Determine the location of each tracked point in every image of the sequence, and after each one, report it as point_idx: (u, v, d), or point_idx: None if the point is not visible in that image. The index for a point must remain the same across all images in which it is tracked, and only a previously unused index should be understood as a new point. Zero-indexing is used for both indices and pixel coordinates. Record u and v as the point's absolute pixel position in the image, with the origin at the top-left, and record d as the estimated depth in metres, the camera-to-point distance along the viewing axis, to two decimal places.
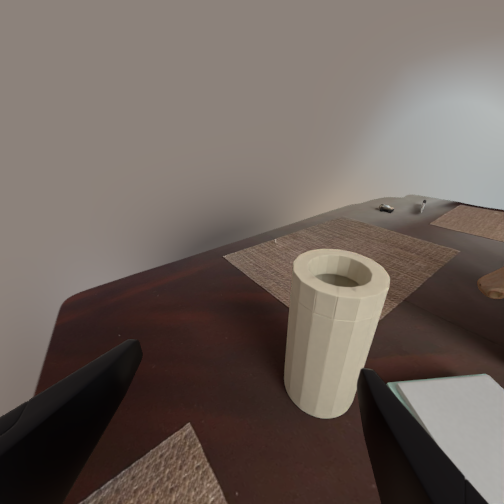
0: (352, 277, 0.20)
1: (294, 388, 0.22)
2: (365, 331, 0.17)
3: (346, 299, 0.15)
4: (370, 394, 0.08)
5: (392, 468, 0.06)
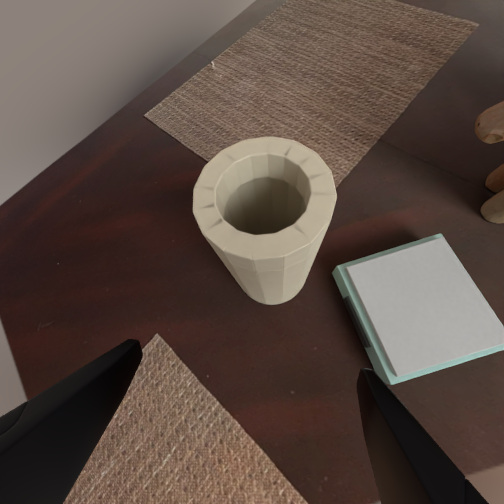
0: (290, 182, 0.14)
1: (245, 291, 0.22)
2: (301, 266, 0.13)
3: (265, 259, 0.11)
4: (370, 394, 0.08)
5: (392, 468, 0.06)
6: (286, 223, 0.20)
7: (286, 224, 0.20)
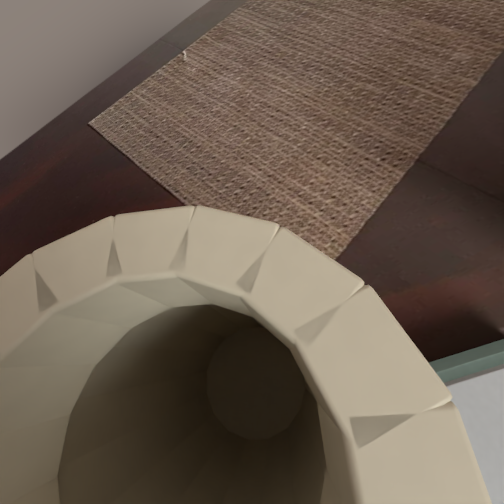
0: (272, 334, 0.04)
1: None
2: None
3: None
4: None
5: None
6: None
7: None
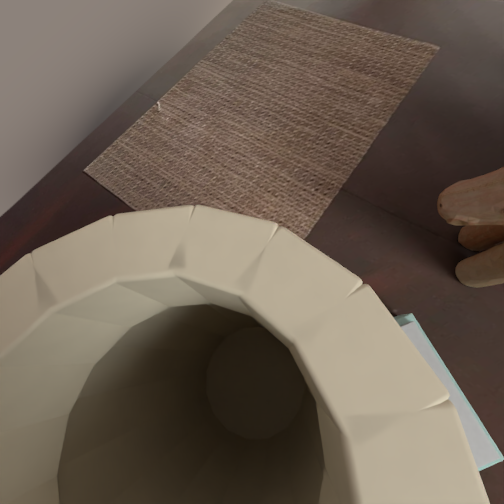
0: (271, 333, 0.04)
1: None
2: None
3: None
4: None
5: None
6: None
7: None
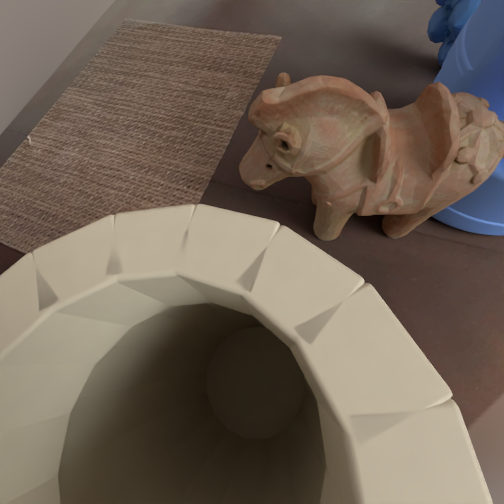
0: (272, 332, 0.04)
1: None
2: None
3: None
4: None
5: None
6: None
7: None
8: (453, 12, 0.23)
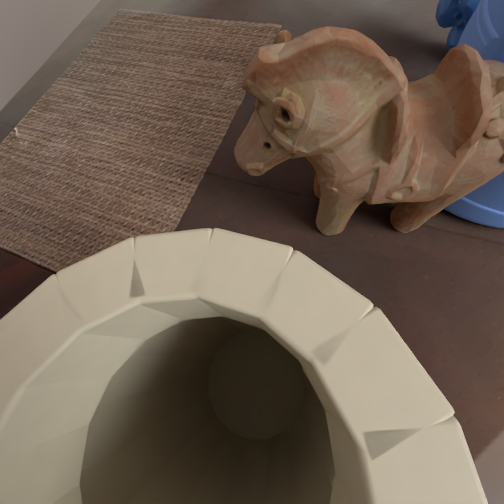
0: (282, 346, 0.05)
1: None
2: None
3: None
4: None
5: None
6: None
7: None
8: None
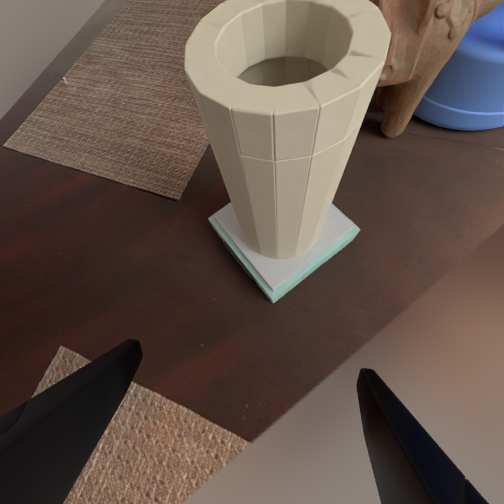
0: (315, 55, 0.10)
1: (251, 241, 0.19)
2: (332, 164, 0.10)
3: (292, 116, 0.07)
4: (370, 394, 0.08)
5: (392, 468, 0.06)
6: None
7: None
8: None
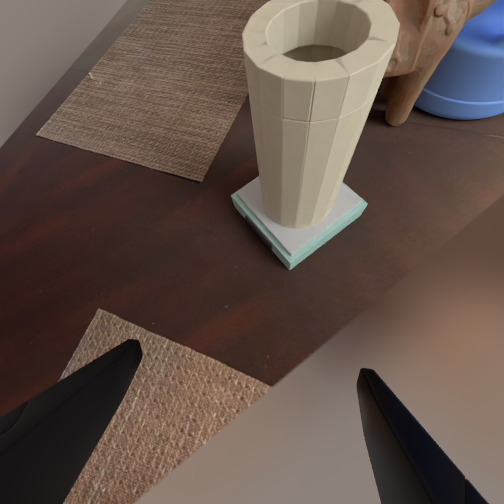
0: (338, 43, 0.13)
1: (273, 210, 0.21)
2: (352, 129, 0.13)
3: (328, 83, 0.10)
4: (370, 394, 0.08)
5: (392, 468, 0.06)
6: None
7: None
8: None
